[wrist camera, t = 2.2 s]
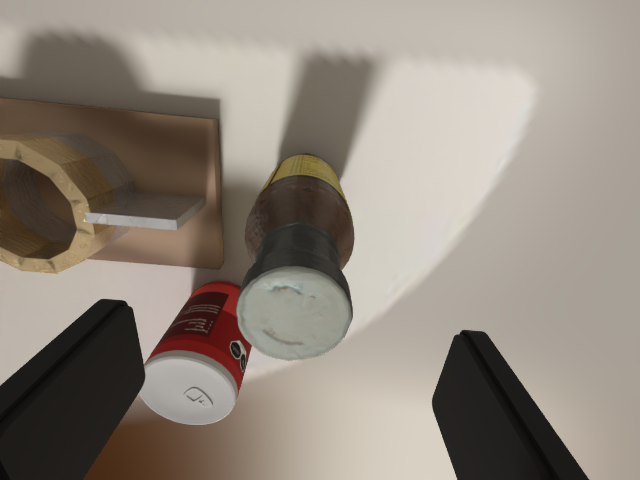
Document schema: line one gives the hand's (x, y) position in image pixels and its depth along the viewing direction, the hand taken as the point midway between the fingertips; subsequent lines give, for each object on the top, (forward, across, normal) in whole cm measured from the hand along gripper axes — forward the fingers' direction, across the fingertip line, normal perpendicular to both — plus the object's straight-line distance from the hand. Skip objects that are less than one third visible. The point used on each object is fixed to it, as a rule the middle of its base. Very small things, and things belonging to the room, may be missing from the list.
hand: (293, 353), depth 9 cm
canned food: (+21, +9, +15) cm, 28 cm away
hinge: (+19, +21, +2) cm, 28 cm away
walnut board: (+21, +21, +2) cm, 30 cm away
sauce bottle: (+21, +1, 0) cm, 21 cm away
